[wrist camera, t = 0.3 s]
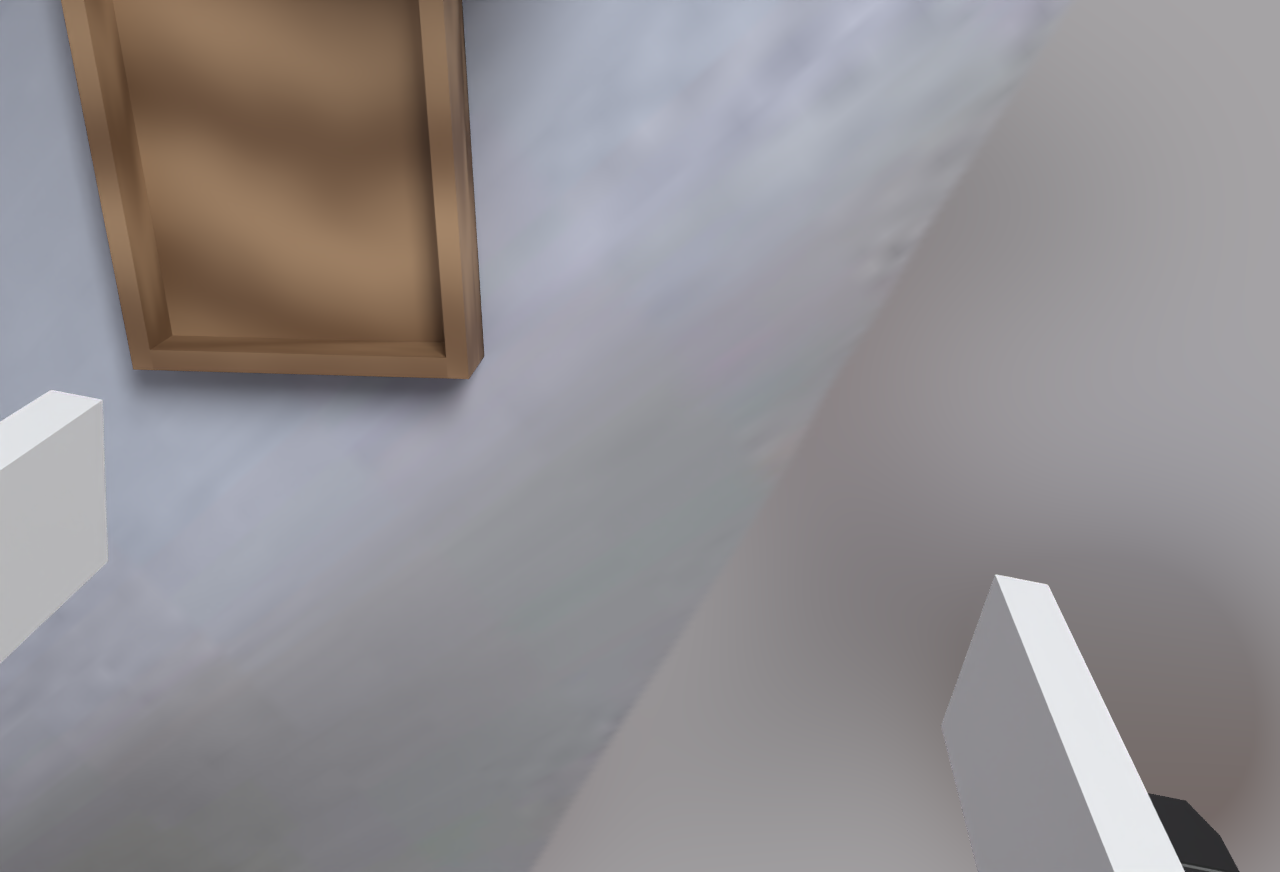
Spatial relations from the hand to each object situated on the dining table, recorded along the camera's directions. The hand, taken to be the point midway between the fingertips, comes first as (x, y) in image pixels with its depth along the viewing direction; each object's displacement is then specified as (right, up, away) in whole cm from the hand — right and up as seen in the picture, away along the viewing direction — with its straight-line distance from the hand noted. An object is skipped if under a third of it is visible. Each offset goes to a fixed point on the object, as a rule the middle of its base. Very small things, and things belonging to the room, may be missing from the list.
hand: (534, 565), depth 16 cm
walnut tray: (-11, +13, +24) cm, 30 cm away
